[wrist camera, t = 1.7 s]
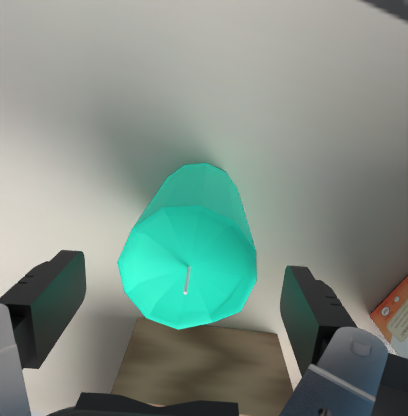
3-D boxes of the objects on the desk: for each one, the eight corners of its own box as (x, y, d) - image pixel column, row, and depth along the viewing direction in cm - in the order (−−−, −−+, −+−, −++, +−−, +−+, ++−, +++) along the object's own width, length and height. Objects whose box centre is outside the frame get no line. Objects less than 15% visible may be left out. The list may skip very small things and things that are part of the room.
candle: (154, 231, 24) (101, 343, 12) (165, 155, 22) (113, 204, 11) (230, 245, 24) (246, 367, 13) (247, 170, 22) (282, 234, 11)
